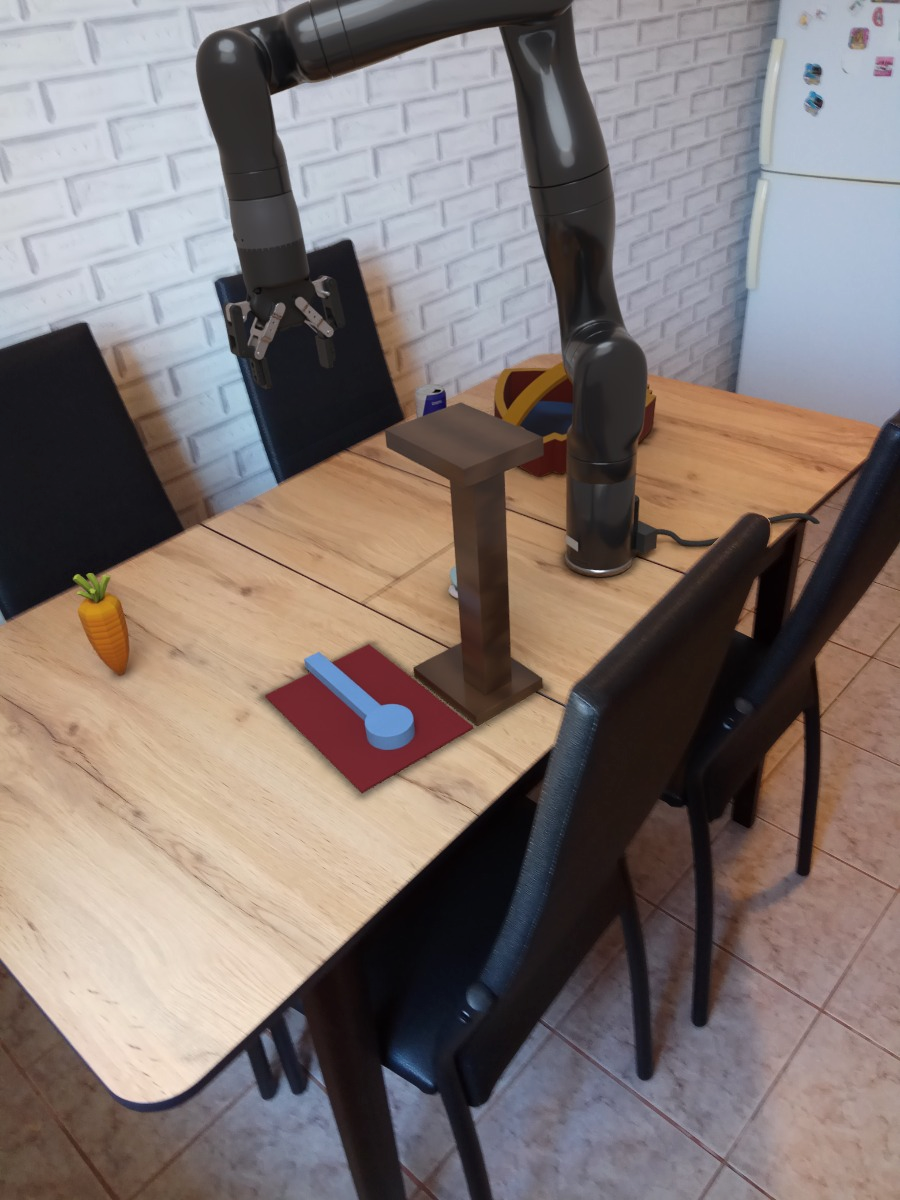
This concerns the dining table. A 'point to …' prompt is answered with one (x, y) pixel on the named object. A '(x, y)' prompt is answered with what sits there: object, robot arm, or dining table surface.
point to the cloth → (345, 730)
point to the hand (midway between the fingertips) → (297, 376)
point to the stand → (474, 552)
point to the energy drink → (429, 399)
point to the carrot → (104, 622)
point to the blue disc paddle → (366, 706)
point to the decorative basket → (546, 411)
